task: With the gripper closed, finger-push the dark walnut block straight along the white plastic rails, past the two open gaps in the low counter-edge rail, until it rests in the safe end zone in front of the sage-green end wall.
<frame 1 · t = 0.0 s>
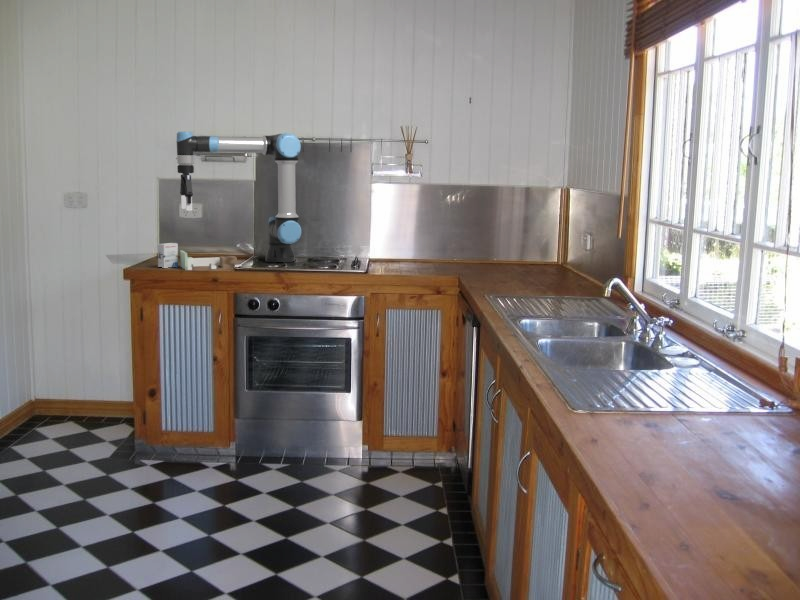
hand: (186, 209, 422), 28 cm above the worktop, fingers open, 13 cm apart
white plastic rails: (210, 267, 430), on the worktop
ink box: (168, 268, 427), on the worktop
block: (228, 267, 433), on the worktop
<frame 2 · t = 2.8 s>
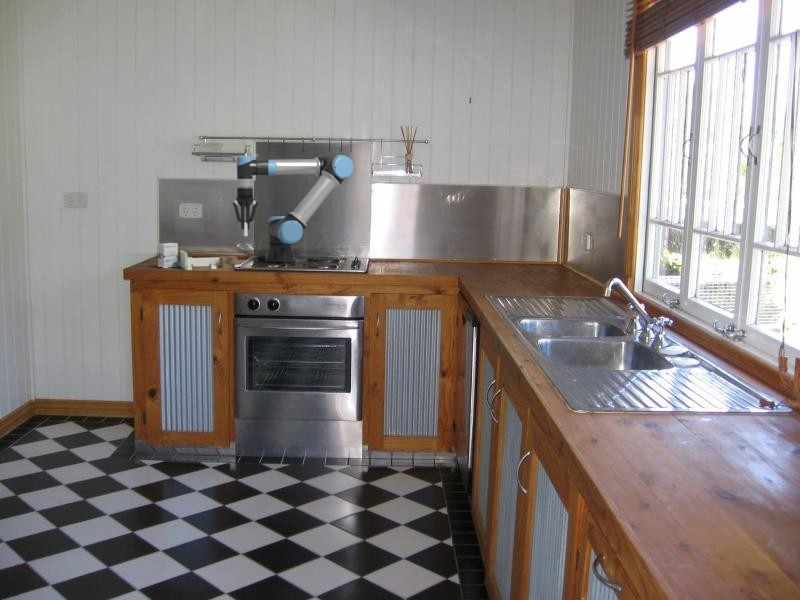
hand: (245, 235, 434), 15 cm above the worktop, fingers closed
nothing on the worktop moved.
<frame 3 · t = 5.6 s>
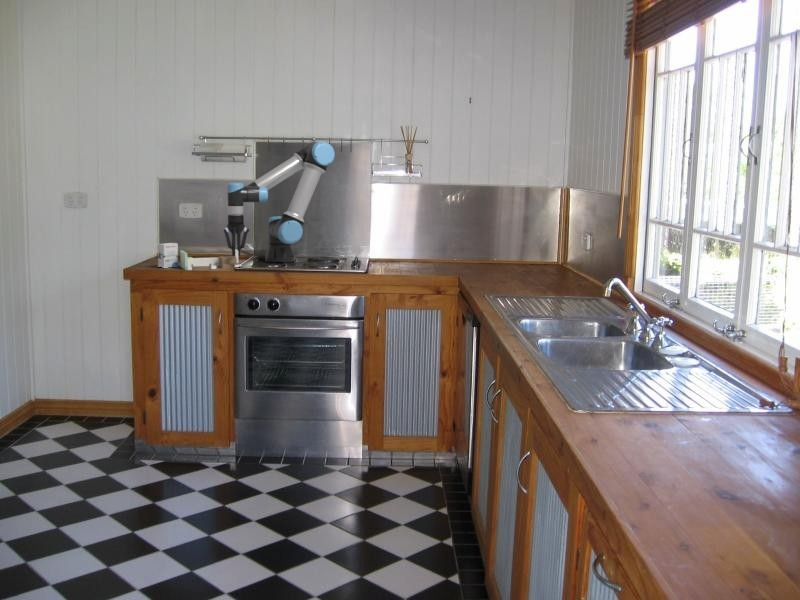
hand: (236, 262, 434), 2 cm above the worktop, fingers closed
block: (227, 266, 433), on the worktop, touching gripper
everything else where it was.
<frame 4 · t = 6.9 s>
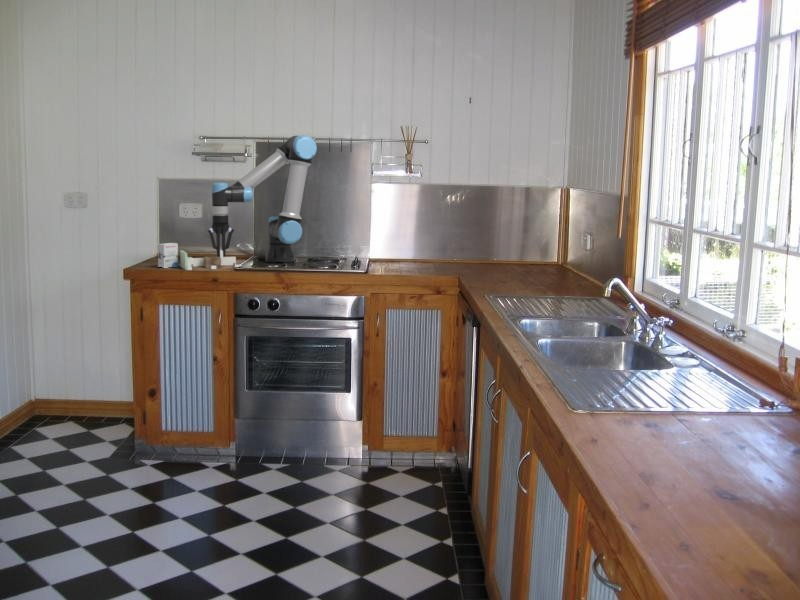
hand: (221, 263, 432), 2 cm above the worktop, fingers closed
block: (212, 267, 430), on the worktop, touching gripper
everything else where it was.
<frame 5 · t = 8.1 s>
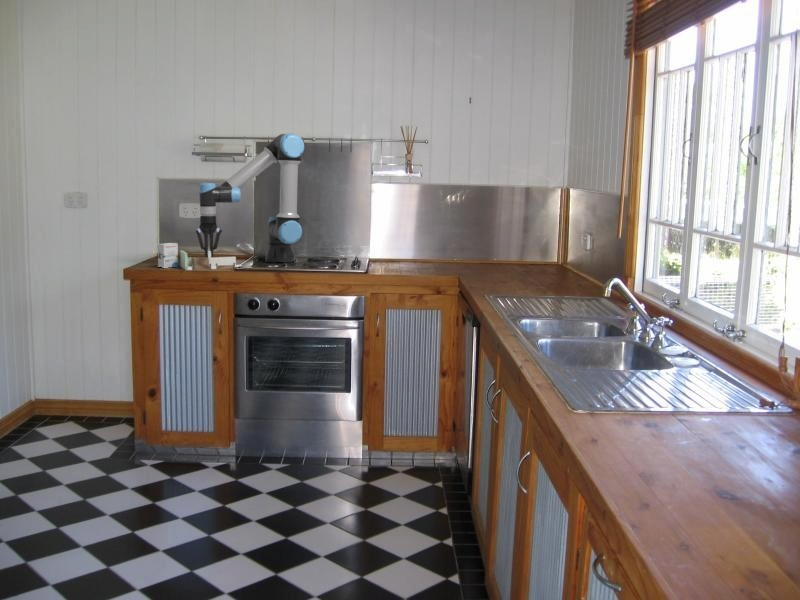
hand: (209, 263, 429), 2 cm above the worktop, fingers closed
block: (200, 267, 428), on the worktop, touching gripper
everything else where it was.
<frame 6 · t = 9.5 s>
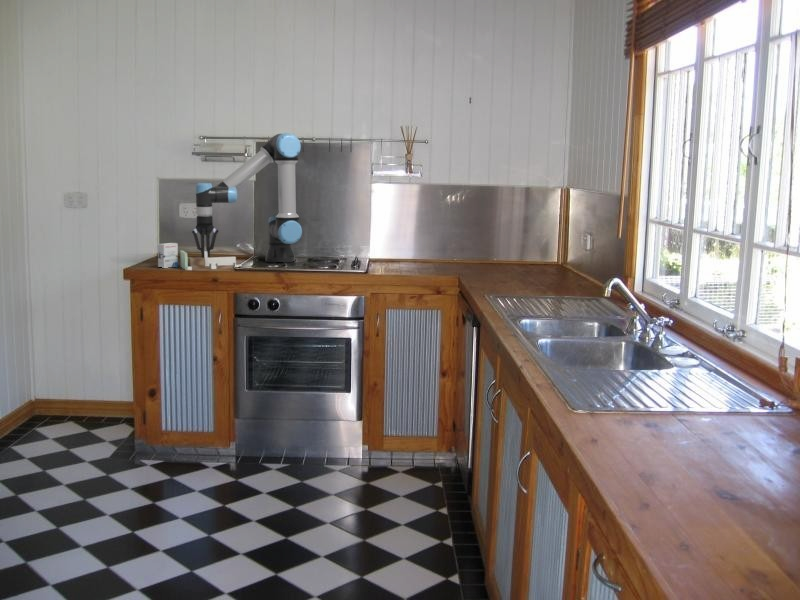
hand: (205, 264, 429), 2 cm above the worktop, fingers closed
block: (196, 268, 428), on the worktop
everything else where it was.
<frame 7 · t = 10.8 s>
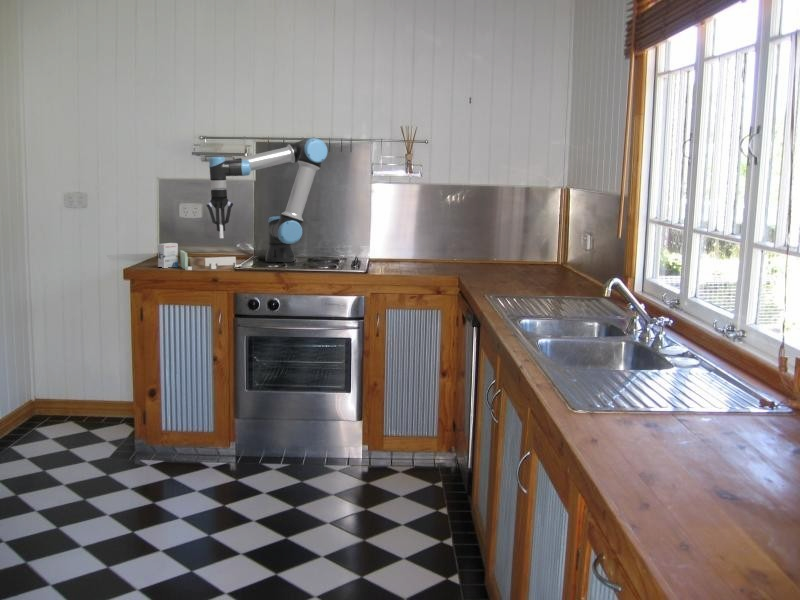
hand: (221, 237, 430), 14 cm above the worktop, fingers closed
nothing on the worktop moved.
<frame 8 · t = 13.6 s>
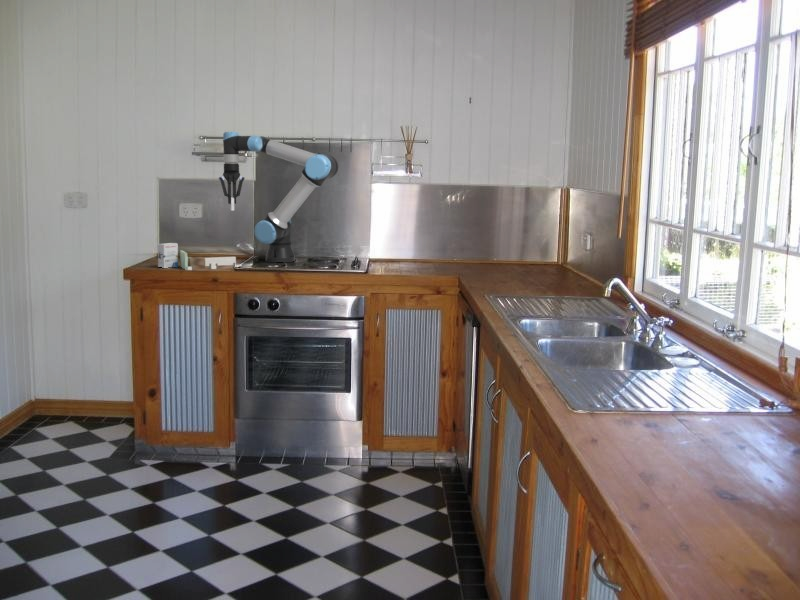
hand: (232, 210, 446), 26 cm above the worktop, fingers closed
nothing on the worktop moved.
at the end: block inside the target area (0.8 cm from its centre), on the worktop; block tilted 0°; the gripper is holding nothing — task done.
